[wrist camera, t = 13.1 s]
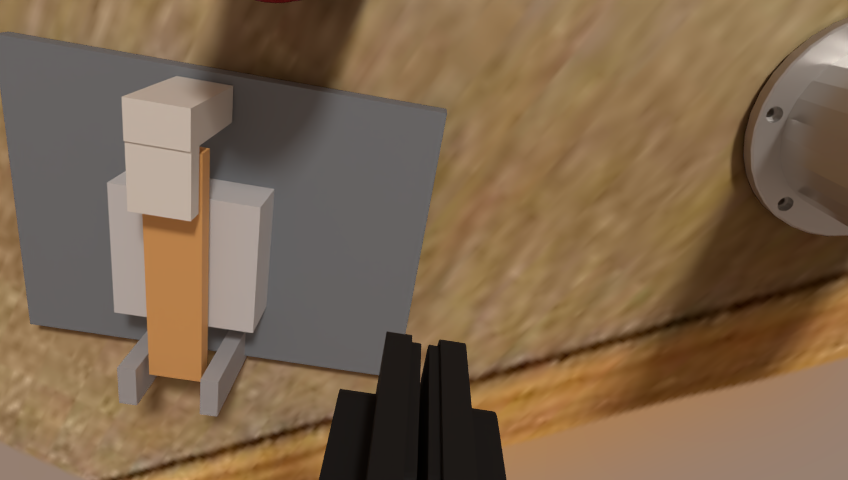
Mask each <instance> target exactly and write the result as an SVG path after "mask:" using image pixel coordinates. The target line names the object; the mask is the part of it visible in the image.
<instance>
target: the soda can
mask: <svg viewBox="0 0 848 480" xmlns="http://www.w3.org/2000/svg"><path fill="white" fill-rule="evenodd" d="M256 1H261V2H268V3H286V2H292V1H299V0H256Z"/></svg>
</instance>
